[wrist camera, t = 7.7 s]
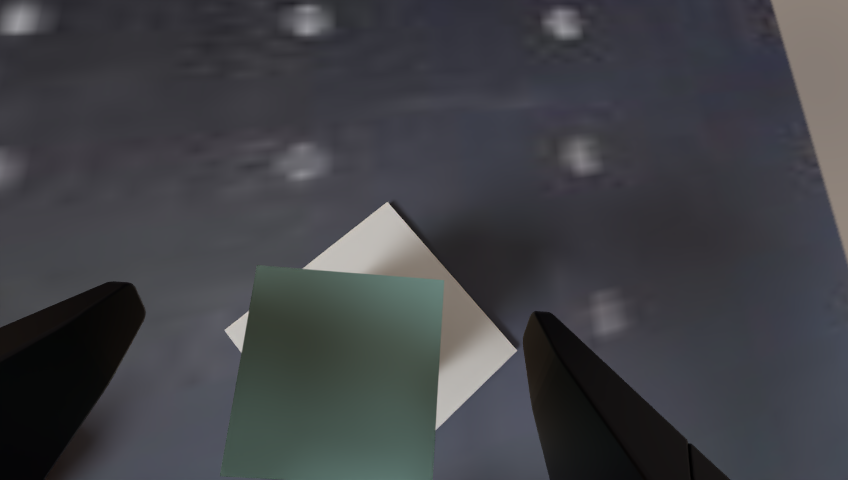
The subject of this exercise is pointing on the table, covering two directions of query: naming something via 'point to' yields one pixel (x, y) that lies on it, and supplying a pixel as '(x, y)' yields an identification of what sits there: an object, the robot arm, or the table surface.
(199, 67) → the table surface
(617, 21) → the table surface
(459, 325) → the grey pad
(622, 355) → the table surface
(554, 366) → the robot arm
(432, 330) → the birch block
